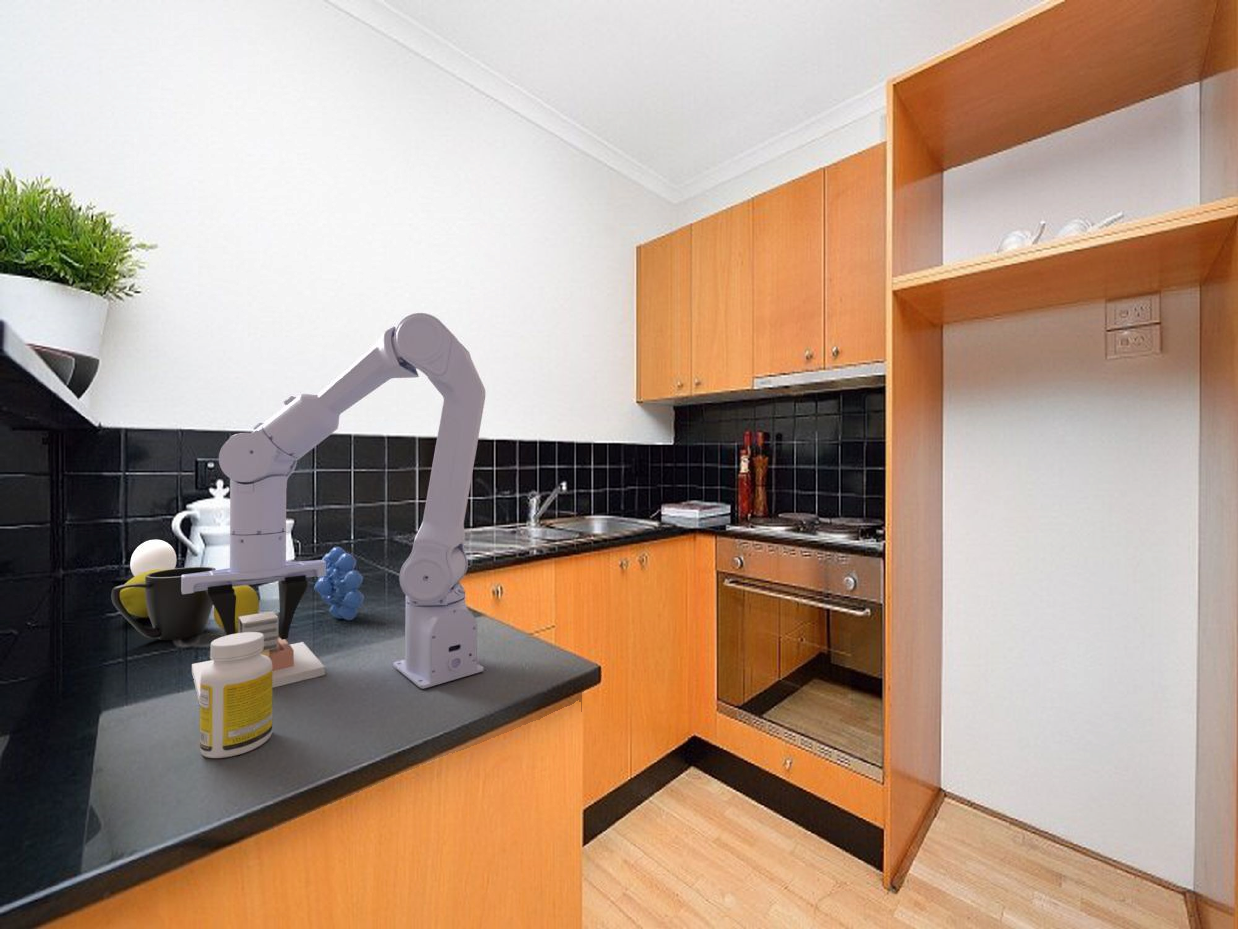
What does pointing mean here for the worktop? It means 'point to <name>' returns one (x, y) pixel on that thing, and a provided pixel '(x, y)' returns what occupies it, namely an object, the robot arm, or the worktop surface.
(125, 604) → the lemon
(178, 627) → the mug
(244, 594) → the lemon
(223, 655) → the supplement bottle
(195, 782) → the worktop surface
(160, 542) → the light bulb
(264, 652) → the stand base
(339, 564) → the grapes
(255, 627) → the column
